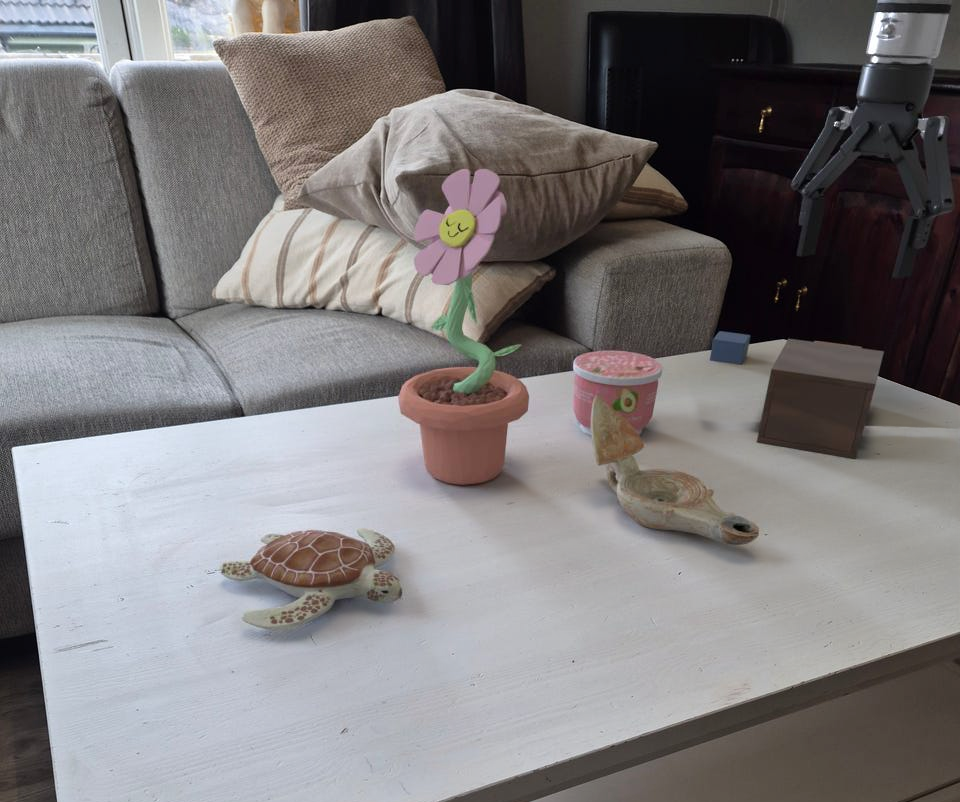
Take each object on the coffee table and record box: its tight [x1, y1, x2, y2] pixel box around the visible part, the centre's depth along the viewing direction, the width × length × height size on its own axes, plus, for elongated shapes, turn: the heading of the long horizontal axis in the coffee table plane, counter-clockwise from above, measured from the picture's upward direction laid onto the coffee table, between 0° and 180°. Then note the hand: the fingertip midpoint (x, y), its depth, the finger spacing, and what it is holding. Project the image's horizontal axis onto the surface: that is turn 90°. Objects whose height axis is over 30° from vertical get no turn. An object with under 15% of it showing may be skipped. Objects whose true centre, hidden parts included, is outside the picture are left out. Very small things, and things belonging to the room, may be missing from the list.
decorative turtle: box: [219, 527, 403, 631], centre depth 79 cm, size 18×17×5 cm
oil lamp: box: [590, 395, 760, 546], centre depth 90 cm, size 9×21×10 cm, turn 40°
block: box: [709, 330, 751, 366], centre depth 132 cm, size 4×4×4 cm
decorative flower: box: [397, 168, 530, 486], centre depth 93 cm, size 15×14×30 cm
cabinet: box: [756, 338, 885, 460], centre depth 111 cm, size 13×11×9 cm
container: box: [572, 350, 663, 436], centre depth 111 cm, size 10×10×8 cm
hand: (851, 265), depth 113 cm, fingers open, 13 cm apart
